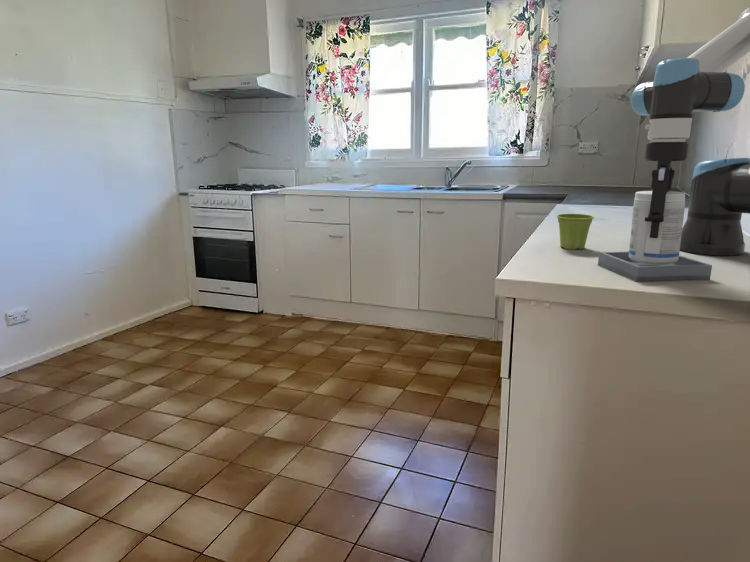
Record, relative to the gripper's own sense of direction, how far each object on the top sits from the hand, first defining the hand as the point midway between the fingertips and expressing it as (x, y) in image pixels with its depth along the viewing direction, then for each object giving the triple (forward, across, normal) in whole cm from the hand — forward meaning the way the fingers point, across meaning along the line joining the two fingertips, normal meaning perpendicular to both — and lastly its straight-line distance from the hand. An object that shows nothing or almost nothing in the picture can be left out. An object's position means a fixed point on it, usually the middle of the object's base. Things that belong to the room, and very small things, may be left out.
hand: (653, 249), depth 110 cm
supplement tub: (+3, 0, 0) cm, 3 cm away
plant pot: (+5, -21, -20) cm, 30 cm away
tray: (+5, 0, 0) cm, 5 cm away
